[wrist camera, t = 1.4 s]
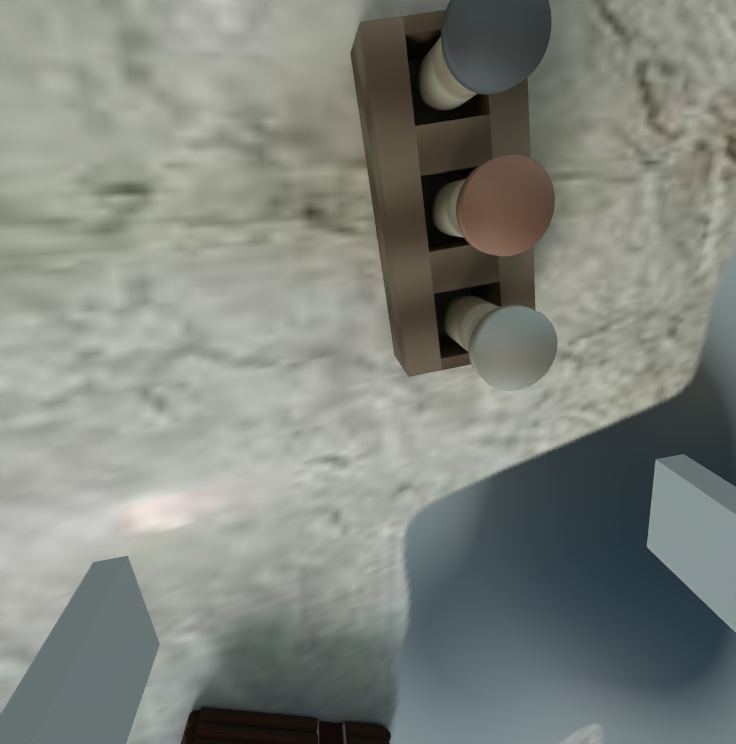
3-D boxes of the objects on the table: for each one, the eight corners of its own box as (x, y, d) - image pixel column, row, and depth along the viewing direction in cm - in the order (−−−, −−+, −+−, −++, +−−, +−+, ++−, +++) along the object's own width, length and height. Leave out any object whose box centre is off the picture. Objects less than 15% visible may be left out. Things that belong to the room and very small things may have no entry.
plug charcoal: (401, 40, 25) (442, -32, 18) (477, 29, 26) (550, -47, 18) (411, 129, 27) (453, 96, 19) (483, 117, 27) (552, 80, 20)
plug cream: (429, 291, 30) (471, 316, 23) (494, 279, 30) (556, 300, 23) (436, 354, 32) (478, 398, 24) (497, 342, 32) (557, 381, 24)
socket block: (350, 53, 29) (359, 22, 24) (489, 33, 29) (524, -1, 25) (394, 355, 36) (408, 376, 31) (506, 333, 36) (536, 351, 32)
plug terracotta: (416, 176, 28) (458, 163, 20) (486, 165, 28) (553, 147, 21) (424, 250, 29) (467, 263, 22) (491, 239, 30) (555, 247, 22)
